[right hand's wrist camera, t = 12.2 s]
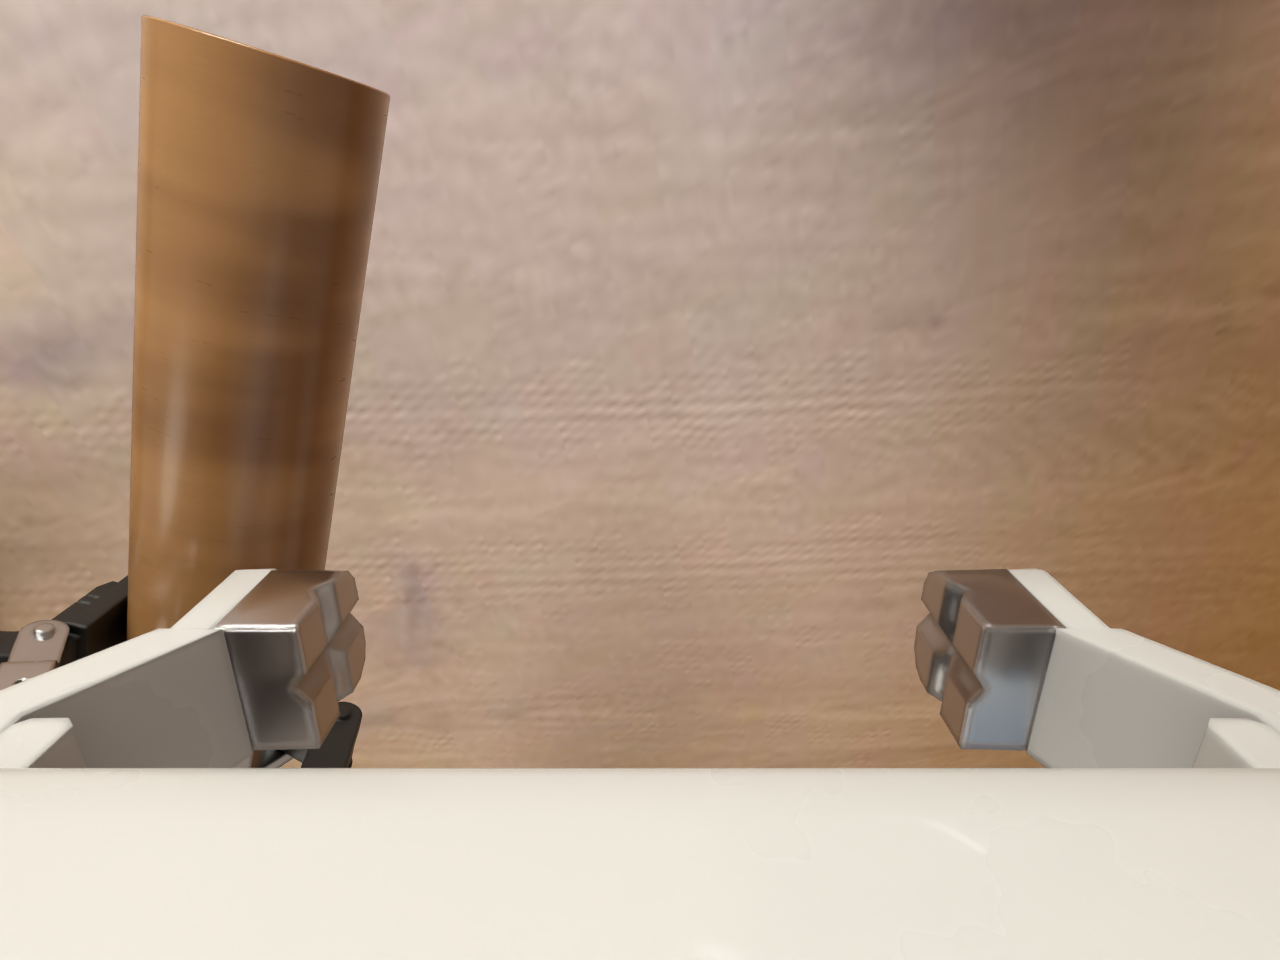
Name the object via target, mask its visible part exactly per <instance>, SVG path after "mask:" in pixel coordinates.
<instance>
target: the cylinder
mask: <svg viewBox="0 0 1280 960" xmlns="http://www.w3.org/2000/svg"><path fill="white" fill-rule="evenodd" d="M389 102H390V95H388V94H387V93H385V92H383V91H380V90H378V89H375V88H373V87H370V86H367V85H364V84H362V83H359V82H356V81H353V80H351V79H348V78H345V77H342V76H339V75H336V74H333V73H330V72H327V71H324V70H321V69H319V68H316V67H313V66H310V65H307V64H304V63H301V62H298V61H295V60H292V59H289V58H285V57H282V56H279V55H276V54H273V53H270V52H267V51H264V50H261V49H258V48H255V47H252V46H248V45H245V44H242V43H239V42H236V41H233V40H230V39H226V38H223V37H220V36H217V35H213V34H210V33H207V32H204V31H200V30H197V29H194V28H191V27H187V26H184V25H180V24H177V23H174V22H170V21H167V20H163V19H159V18H156V17H152V16H147V15H143V16H142V25H141V66H140V107H139V148H138V189H137V231H136V272H135V313H134V354H133V395H132V437H131V478H130V519H129V560H128V601H127V641H128V640H130V639H133V638H135V637H138V636H140V635H143V634H146V633H148V632H151V631H153V630H156V629H170V628H171V627H172V626H173V625H175V624H176V623H177V622H178V621H179V620H180V619H181V618H182V617H184V616H185V615H186V614H187V613H188V612H189V611H190V610H191V609H193V608H194V607H195V606H196V605H197V604H198V603H199V602H200V601H202V600H203V599H204V598H205V597H206V596H207V595H208V594H209V593H211V592H212V591H213V590H214V589H215V588H216V587H217V586H218V585H219V584H221V583H222V582H223V581H224V580H225V579H226V578H227V577H228V576H230V575H231V574H232V573H233V572H234V571H235V570H245V569H277V570H280V569H282V570H325V564H326V557H327V550H328V542H329V535H330V528H331V521H332V513H333V506H334V499H335V492H336V485H337V477H338V470H339V463H340V456H341V448H342V441H343V434H344V427H345V420H346V412H347V405H348V398H349V391H350V383H351V376H352V369H353V362H354V355H355V347H356V340H357V333H358V326H359V318H360V311H361V304H362V297H363V290H364V282H365V275H366V268H367V261H368V253H369V246H370V239H371V232H372V225H373V217H374V210H375V203H376V196H377V188H378V181H379V174H380V167H381V160H382V152H383V145H384V138H385V131H386V123H387V116H388V109H389Z"/></svg>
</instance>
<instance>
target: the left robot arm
mask: <svg viewBox="0 0 1280 960" xmlns="http://www.w3.org/2000/svg"><path fill="white" fill-rule="evenodd" d="M127 601H128V576H126V577H125V578H124V579H122V580H121V581H120V582H113V581H112V582H109V583H107V584H104V585H101V586H98V587H96V588H95V589H94V590H92V591H91V592H89V593H88V594H87V595H86V596H84V597H82V598H81V599H80V600H78V602H76V603H74V604H73V605H71V606H70V607H69V608H67V609H66V610H64V611H63V612H62V613H60V614H59V615H58V616H56V617H55V618H53V619H52V620H41V621H36V622H32V623H30V624H27V625H26V626H24V627H23V628H22V629H21V630H20V631H19V632H5V631H0V690H3V689H5V688H8V687H10V686H13V685H15V684H18V683H20V682H23V681H26V680H28V679H31V678H33V677H36V676H38V675H41V674H43V673H46V672H49V671H51V670H54V669H56V668H59V667H61V666H64V665H66V664H69V663H72V662H74V661H77V660H79V659H82V658H84V657H87V656H89V655H92V654H95V653H97V652H100V651H102V650H105V649H107V648H110V647H112V646H115V645H118V644H120V643H123V642H125V641H127ZM338 705H339V711H340V715H339V717H338V718H337V720H336V722H335V723H334V725H333V727H332V728H331V730H330V732H329V733H328V735H327V737H326V738H325V740H324V742H323V743H322V745H321V747H320V749H286V750H253V754H252V755H251V756H249V757H248V758H246V759H245V760H244V761H242V762H241V763H240V764H238V765H237V766H235V767H234V768H279V767H281V766H282V765H284V764H285V763H287V762H288V761H290V760H291V759H293V758H295V759H296V760H298V761H300V762H302V766H301V768H351V766H352V754H353V749H354V745H355V741H356V738H357V735H358V731H359V728H360V723H361V718H362V712H361V710H360V708H359V707H358V706H356V705H354V704H352V703H349V702H338Z"/></svg>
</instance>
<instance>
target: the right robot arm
mask: <svg viewBox="0 0 1280 960" xmlns="http://www.w3.org/2000/svg"><path fill="white" fill-rule="evenodd" d="M358 600H359V598H358V593H357V588H356V583H355V578H354V577H353V576H352V575H351V574H350V572H349V571H337V570H282V569H280V570H277V569H245V570H235V571H234V572H233V573H232V574H231V575H230V576H228V577H227V578H226V579H225V580H224V581H223V582H222V583H221V584H219V585H218V586H217V587H216V588H215V589H214V590H213V591H212V592H211V593H209V594H208V595H207V596H206V597H205V598H204V599H203V600H202V601H200V602H199V603H198V604H197V605H196V606H195V607H194V608H193V609H191V610H190V611H189V612H188V613H187V614H186V615H185V616H184V617H182V618H181V619H180V620H179V621H178V622H177V623H176V624H175V625H173V626H172V627H171V628H170V629H156V630H153V631H151V632H148V633H146V634H143V635H140V636H138V637H135V638H133V639H130V640H128V641H125V642H123V643H120V644H118V645H115V646H112V647H110V648H107V649H105V650H102V651H100V652H97V653H95V654H92V655H89V656H87V657H84V658H82V659H79V660H77V661H74V662H72V663H69V664H66V665H64V666H61V667H59V668H56V669H54V670H51V671H49V672H46V673H43V674H41V675H38V676H36V677H33V678H31V679H28V680H26V681H23V682H20V683H18V684H15V685H13V686H10V687H8V688H5V689H3V690H0V960H1280V690H1277V689H1274V688H1272V687H1269V686H1267V685H1264V684H1262V683H1259V682H1257V681H1254V680H1252V679H1249V678H1246V677H1244V676H1241V675H1239V674H1236V673H1234V672H1231V671H1229V670H1226V669H1224V668H1221V667H1218V666H1216V665H1213V664H1211V663H1208V662H1206V661H1203V660H1201V659H1198V658H1196V657H1193V656H1190V655H1188V654H1185V653H1183V652H1180V651H1178V650H1175V649H1173V648H1170V647H1167V646H1165V645H1162V644H1160V643H1157V642H1155V641H1152V640H1150V639H1147V638H1145V637H1142V636H1139V635H1137V634H1134V633H1132V632H1129V631H1127V630H1124V629H1110V628H1109V627H1108V626H1107V625H1106V624H1104V623H1103V622H1102V621H1101V620H1100V619H1099V618H1098V617H1097V616H1095V615H1094V614H1093V613H1092V612H1091V611H1090V610H1089V609H1088V608H1086V607H1085V606H1084V605H1083V604H1082V603H1081V602H1080V601H1079V600H1078V599H1076V598H1075V597H1074V596H1073V595H1072V594H1071V593H1070V592H1069V591H1067V590H1066V589H1065V588H1064V587H1063V586H1062V585H1061V584H1060V583H1058V582H1057V581H1056V580H1055V579H1054V578H1053V577H1052V576H1051V575H1050V574H1048V573H1047V572H1046V571H1044V570H1040V569H1036V568H1035V569H1013V570H1007V569H990V570H948V571H934V572H929V573H928V576H927V578H926V580H925V582H924V586H923V592H922V598H921V600H922V601H923V603H924V604H925V606H926V607H927V609H928V611H929V612H930V613H929V614H928V615H927V616H926V617H925V618H924V620H923V621H922V622H921V623H920V624H919V625H918V626H917V629H916V637H915V645H914V651H915V662H916V668H917V671H918V674H919V678H920V680H921V682H922V684H923V686H924V688H925V689H926V691H927V693H929V694H931V695H932V696H934V697H936V698H937V699H939V700H941V701H942V705H941V711H940V715H941V717H942V718H943V720H944V722H945V723H946V725H947V727H948V728H949V730H950V732H951V733H952V735H953V737H954V738H955V740H956V742H957V743H958V745H959V747H960V748H961V749H992V750H1027V754H1028V755H1030V756H1031V757H1032V758H1034V759H1035V760H1037V761H1038V762H1039V763H1041V764H1042V765H1043V766H1045V767H1046V768H234V767H235V766H237V765H238V764H240V763H241V762H242V761H244V760H245V759H246V758H248V757H249V756H251V755H252V754H253V750H286V749H320V747H321V745H322V743H323V742H324V740H325V738H326V737H327V735H328V733H329V732H330V730H331V728H332V727H333V725H334V723H335V722H336V720H337V718H338V717H339V715H340V711H339V705H338V701H339V700H341V699H343V698H344V697H346V696H348V695H349V694H351V693H353V691H354V689H355V688H356V686H357V684H358V682H359V680H360V678H361V675H362V670H363V666H364V662H365V643H366V642H365V635H364V628H363V626H362V625H361V624H360V623H359V622H358V621H357V620H356V618H355V617H354V616H353V615H352V614H351V613H350V612H351V611H352V609H353V607H354V606H355V604H356V603H357V601H358Z"/></svg>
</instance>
